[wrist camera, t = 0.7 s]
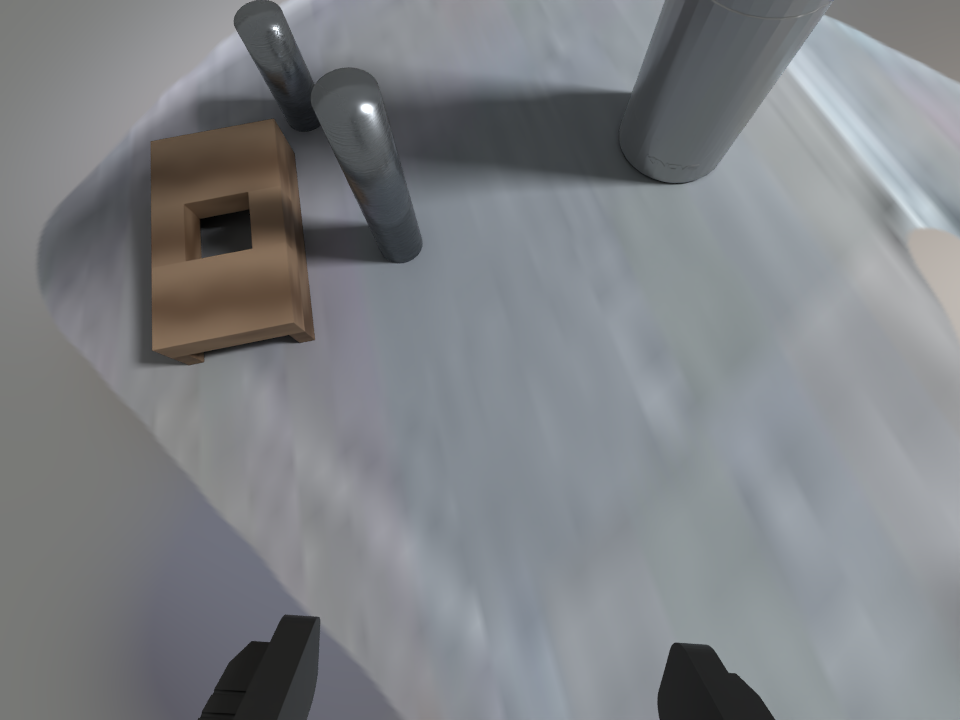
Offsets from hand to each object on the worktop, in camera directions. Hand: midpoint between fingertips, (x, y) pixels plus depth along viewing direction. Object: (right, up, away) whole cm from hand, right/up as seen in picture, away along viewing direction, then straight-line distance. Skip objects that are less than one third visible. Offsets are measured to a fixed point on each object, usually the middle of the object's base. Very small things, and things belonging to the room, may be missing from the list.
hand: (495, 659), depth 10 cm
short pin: (-16, +29, +32) cm, 46 cm away
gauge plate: (-20, +16, +28) cm, 38 cm away
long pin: (-7, +17, +28) cm, 33 cm away
